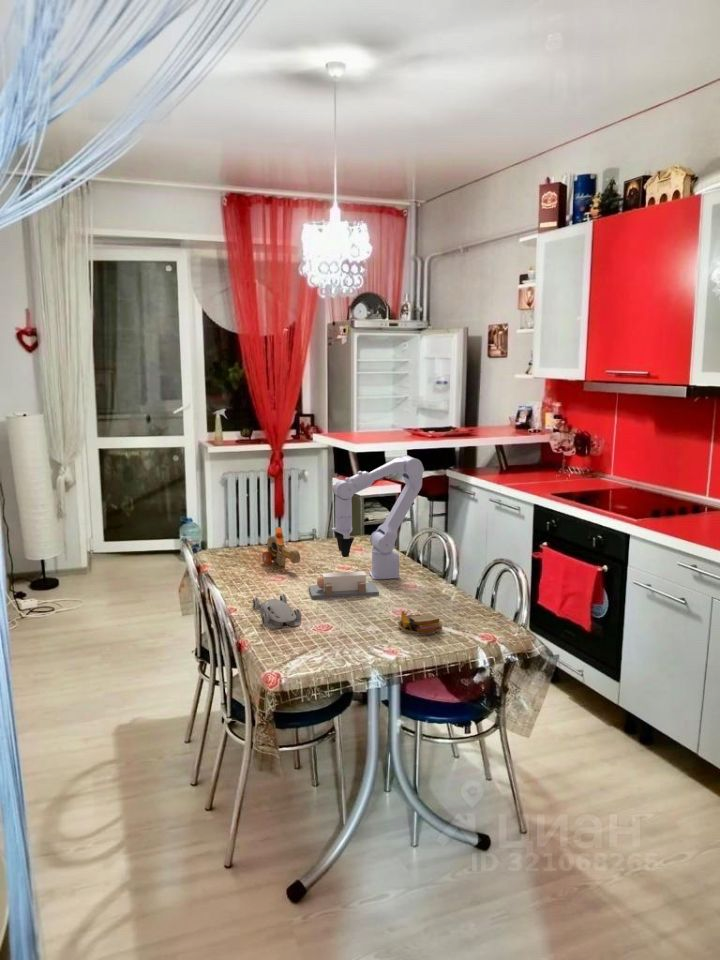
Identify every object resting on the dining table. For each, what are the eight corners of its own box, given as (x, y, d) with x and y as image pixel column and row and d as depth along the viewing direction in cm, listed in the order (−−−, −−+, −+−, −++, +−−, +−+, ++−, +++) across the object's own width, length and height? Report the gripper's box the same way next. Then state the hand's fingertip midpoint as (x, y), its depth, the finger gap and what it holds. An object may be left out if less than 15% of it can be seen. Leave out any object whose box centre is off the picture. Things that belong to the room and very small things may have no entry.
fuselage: (363, 585, 243) (363, 571, 242) (365, 589, 239) (365, 574, 238) (316, 588, 240) (316, 573, 239) (317, 592, 236) (317, 577, 235)
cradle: (373, 585, 246) (373, 573, 246) (379, 595, 236) (379, 583, 236) (309, 588, 243) (308, 577, 242) (312, 599, 233) (311, 586, 232)
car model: (285, 602, 231) (284, 587, 231) (306, 629, 209) (306, 612, 208) (251, 606, 228) (250, 591, 227) (268, 634, 205) (268, 617, 204)
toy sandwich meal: (435, 619, 216) (436, 604, 215) (446, 636, 203) (447, 620, 202) (394, 621, 215) (394, 605, 214) (402, 639, 202) (403, 622, 201)
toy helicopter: (279, 558, 278) (278, 524, 276) (308, 571, 262) (308, 535, 260) (260, 562, 273) (259, 527, 271) (289, 575, 257) (288, 538, 255)
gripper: (329, 511, 255) (329, 548, 257) (334, 520, 241) (335, 560, 243) (349, 510, 256) (349, 547, 258) (355, 520, 242) (355, 559, 244)
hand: (343, 553), depth 251 cm, fingers open, 7 cm apart
